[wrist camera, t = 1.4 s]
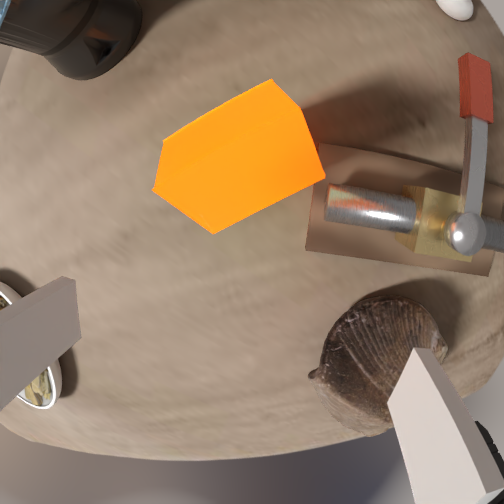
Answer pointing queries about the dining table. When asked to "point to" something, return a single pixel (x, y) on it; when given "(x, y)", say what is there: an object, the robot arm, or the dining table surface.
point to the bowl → (49, 381)
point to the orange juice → (238, 158)
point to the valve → (406, 217)
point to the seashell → (372, 359)
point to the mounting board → (390, 181)
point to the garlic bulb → (457, 8)
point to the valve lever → (472, 155)
